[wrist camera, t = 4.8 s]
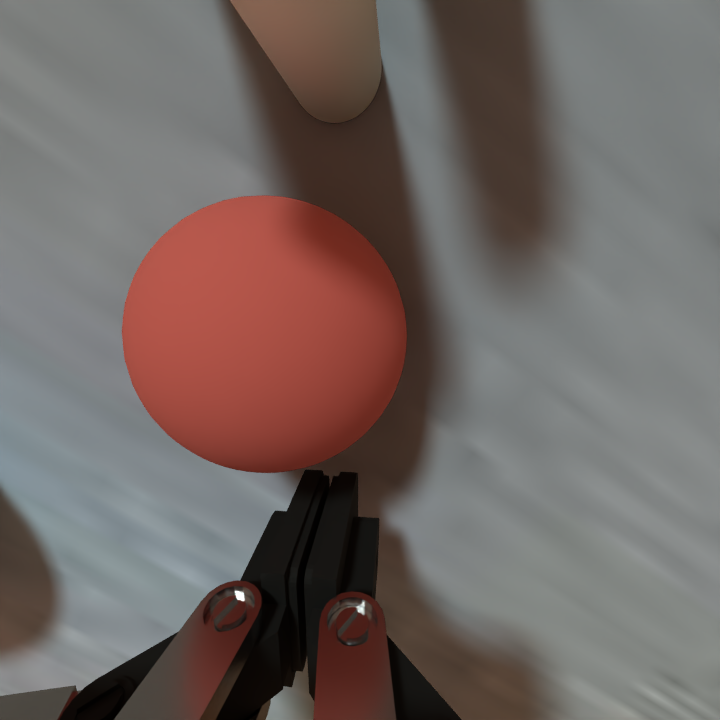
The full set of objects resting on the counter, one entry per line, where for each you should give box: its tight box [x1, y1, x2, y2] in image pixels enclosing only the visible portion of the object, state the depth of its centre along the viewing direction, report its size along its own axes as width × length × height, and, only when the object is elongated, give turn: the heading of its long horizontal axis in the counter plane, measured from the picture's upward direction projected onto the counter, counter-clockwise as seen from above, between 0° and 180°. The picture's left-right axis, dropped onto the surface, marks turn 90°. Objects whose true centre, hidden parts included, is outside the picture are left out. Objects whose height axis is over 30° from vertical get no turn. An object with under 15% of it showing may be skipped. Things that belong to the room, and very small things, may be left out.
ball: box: [122, 196, 407, 473], centre depth 9 cm, size 6×6×6 cm
